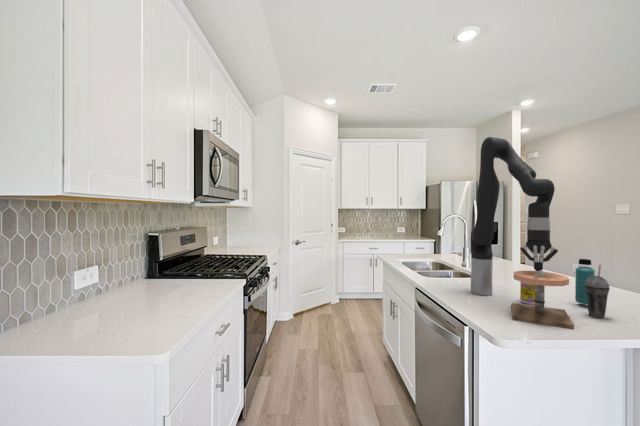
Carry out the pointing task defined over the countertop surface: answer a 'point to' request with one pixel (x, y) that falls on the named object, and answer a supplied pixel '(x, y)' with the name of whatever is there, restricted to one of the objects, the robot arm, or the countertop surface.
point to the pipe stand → (541, 310)
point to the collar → (541, 278)
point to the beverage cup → (597, 295)
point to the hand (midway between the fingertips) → (538, 271)
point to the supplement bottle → (527, 293)
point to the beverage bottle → (583, 280)
